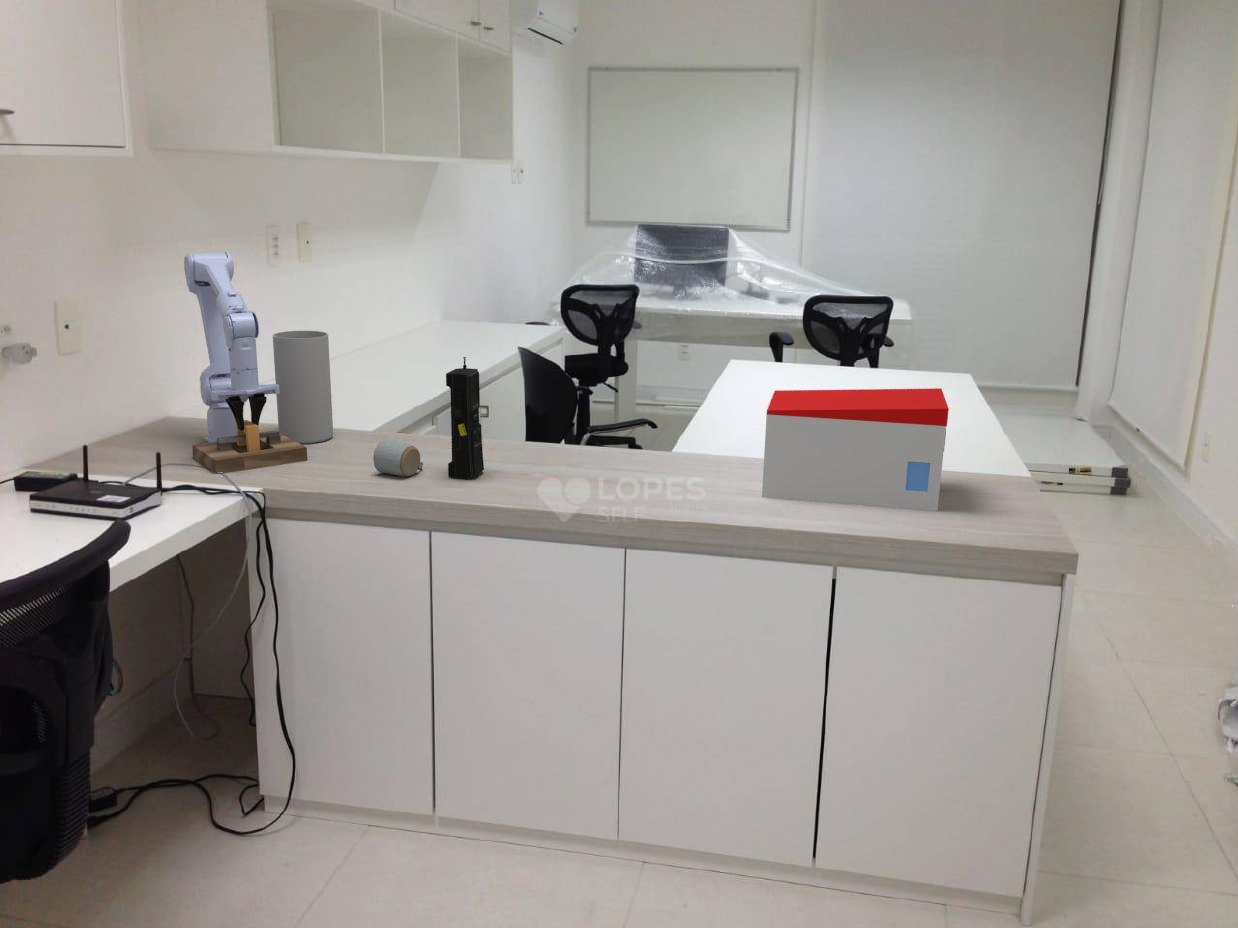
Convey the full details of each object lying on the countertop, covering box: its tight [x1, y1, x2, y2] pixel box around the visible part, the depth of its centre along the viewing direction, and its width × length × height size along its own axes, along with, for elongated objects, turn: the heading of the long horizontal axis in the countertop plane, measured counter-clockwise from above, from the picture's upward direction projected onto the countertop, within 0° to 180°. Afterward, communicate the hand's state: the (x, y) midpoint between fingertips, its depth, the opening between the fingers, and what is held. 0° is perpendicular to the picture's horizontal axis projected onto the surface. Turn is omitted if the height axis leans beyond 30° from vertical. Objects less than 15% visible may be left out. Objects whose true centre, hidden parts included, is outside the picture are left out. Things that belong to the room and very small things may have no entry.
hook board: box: [191, 430, 309, 475], centre depth 243 cm, size 16×20×6 cm
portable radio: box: [445, 356, 485, 481], centre depth 231 cm, size 8×6×25 cm
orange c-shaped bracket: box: [236, 419, 260, 452], centre depth 243 cm, size 7×2×6 cm, turn 38°
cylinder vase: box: [272, 330, 334, 445], centre depth 260 cm, size 12×12×25 cm
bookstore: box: [761, 387, 950, 512], centre depth 227 cm, size 21×35×21 cm, turn 78°
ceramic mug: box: [372, 438, 424, 478], centre depth 235 cm, size 10×8×7 cm
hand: (248, 428), depth 242 cm, fingers closed on orange c-shaped bracket, 2 cm apart
